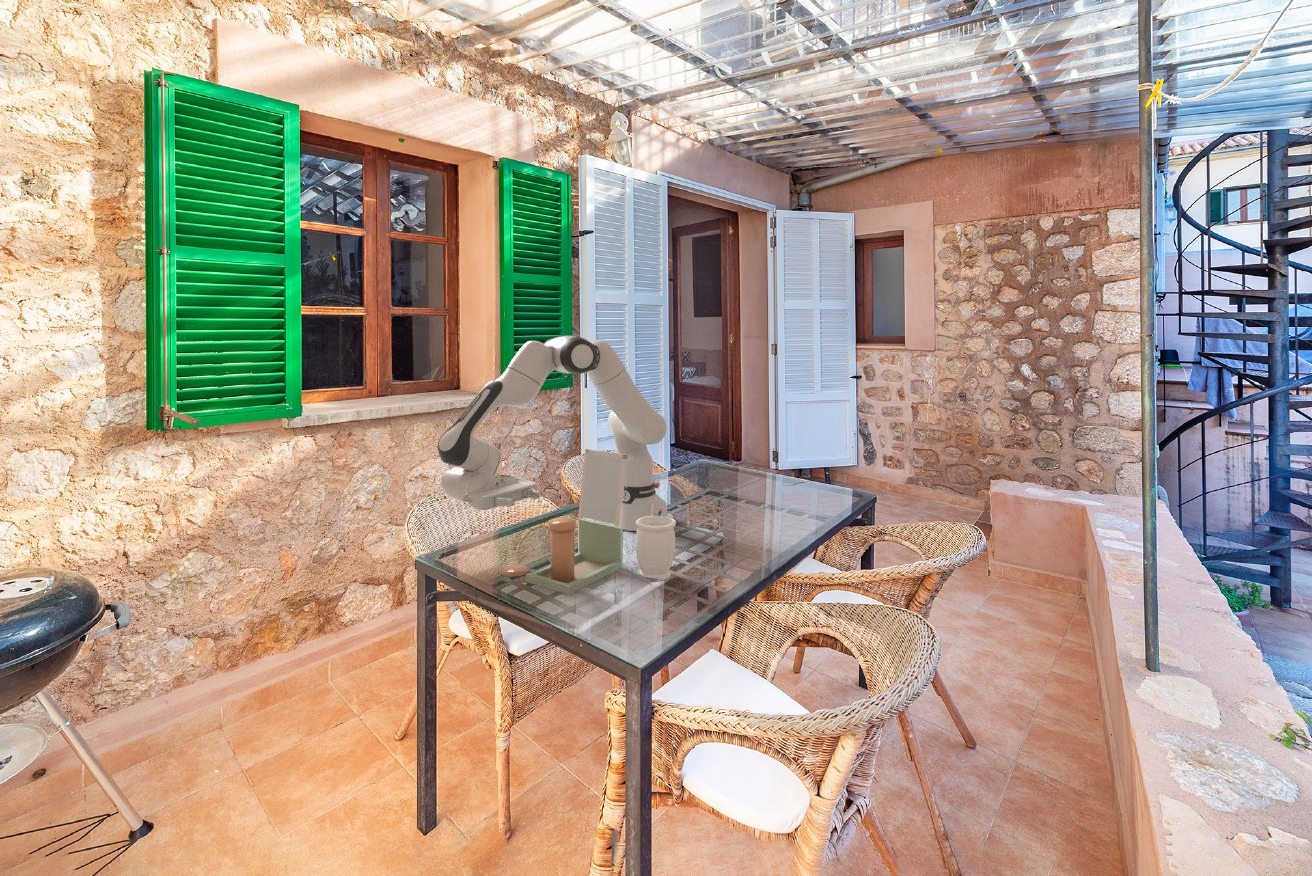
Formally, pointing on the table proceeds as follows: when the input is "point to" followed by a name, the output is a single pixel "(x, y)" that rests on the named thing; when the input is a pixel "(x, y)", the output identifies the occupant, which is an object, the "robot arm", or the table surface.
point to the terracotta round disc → (514, 570)
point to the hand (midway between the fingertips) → (525, 499)
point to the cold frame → (587, 558)
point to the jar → (655, 546)
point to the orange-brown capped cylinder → (562, 549)
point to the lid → (602, 486)
